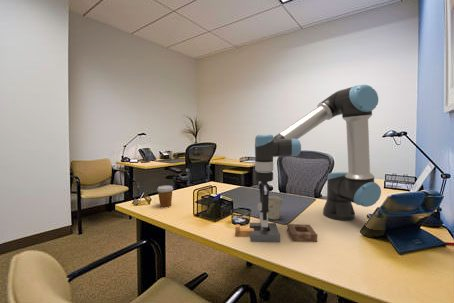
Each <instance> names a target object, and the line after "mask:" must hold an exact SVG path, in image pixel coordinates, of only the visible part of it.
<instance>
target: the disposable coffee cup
mask: <svg viewBox="0 0 454 303" xmlns="http://www.w3.org/2000/svg"><path fill="white" fill-rule="evenodd" d="M156 190H157V195H158V200H159V206H161V207H168V208H170V207H171V206H172V199H173V191H174V188H173V185H160V186H158V187H157V189H156ZM169 206H170V207H169ZM161 207H160V208H161Z"/></svg>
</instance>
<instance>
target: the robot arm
mask: <svg viewBox="0 0 454 303" xmlns="http://www.w3.org/2000/svg"><path fill="white" fill-rule="evenodd" d="M378 104H379V95H378V92H377V91H376V89H374V88H373V86H370V85H368V84H359V85H354V86H351V87H347V88H344V89H340V90H337V91H335V92H334V93H332V94H330V95H329V96H328V97H326V98H325V99H323V100H322V101H320V102H319V103H318V104H317V106H316V108H314V109H312V110H310V112H308V113H306V114H305V115H304V116H302V117H301V118H300V119H298V120H296V121H295V122H294V123H292V124H290V126H288V127H286V128H285V129H284V130H282V131H281V132H279V133H278V134H276V135H275V136H274V135H272V134H257V135H255V140H254V156H255V158H254V163H253V166H255V169H254V170H255V173H254V180H255V181H257V182H260V183H259V184H258V188H259V202H260V203H261V202H262V210H261V211H259V213H260V212H261V227H268V223H269V218H268V212H269V210H268V204H269V197H270V196H269V195H270V194H269V193H270V184H269V183H268V182H272V181H273V180H274V172H273V171H274V158H278V157H279V158H280V157H281V158H282V157H283V158H284V157H298V156H299V155H300V153H301V151H302V144H301V141H300V140H299V139H300V138H301V137H303V136H305V135H306V134H308V133H309V132H310V131H312V130H313V129H315V128H316V127H318V126H319V125H320V124H321V123H324V122H325V121H326V120H327V121H330V120H331V119H333V118H335V117H337V116H341V115H342V116H341V117H342V120H344V121H345V122H346V124H345V125H346V145H347V166H348V167H347V168H348V172H344V171H342V172H338V171H337V172H330V173H328V174H327V179H326V181H327V185H326V187H327V188H326V191H327V192H326V193H327V194H326V201H325V204H324V206H323V209H322V210H323V211H322V213H323V216H325V217H327V218H329V219H333V220H337V221H353V220H355V218H356V213H355V210H354V205H353V204H352V203H354V204H355V205H358V206H361V207H367V208H368V207H372V206H374V205H375V204H377V202H378V201H379V200H380V198H381V196H382V188H381V186H380V185H379V183H377V182H375V175H374V174H373V173H371V163H370V160H371V159H370V137H369V135H370V134H369V133H370V132H369V119H370V118H371V117H372V116H373V111H374V110H375V109H376V108H377V106H378Z"/></svg>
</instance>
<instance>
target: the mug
mask: <svg viewBox="0 0 454 303" xmlns="http://www.w3.org/2000/svg"><path fill="white" fill-rule="evenodd" d="M282 202H283V199H282V198H281V197H278V196H269V204H268V210H269V212H268V220H269V219H270V220H280V218H281V217H280V216H281V209H282V208H281V207H282ZM257 210H258V211H259V212H260V201H259V202H258V204H257Z"/></svg>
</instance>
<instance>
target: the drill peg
mask: <svg viewBox="0 0 454 303" xmlns="http://www.w3.org/2000/svg"><path fill="white" fill-rule="evenodd" d="M261 210H262V202H261V203H260V211H261ZM260 211H259V223H260V231H268V227H261V212H260Z"/></svg>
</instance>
